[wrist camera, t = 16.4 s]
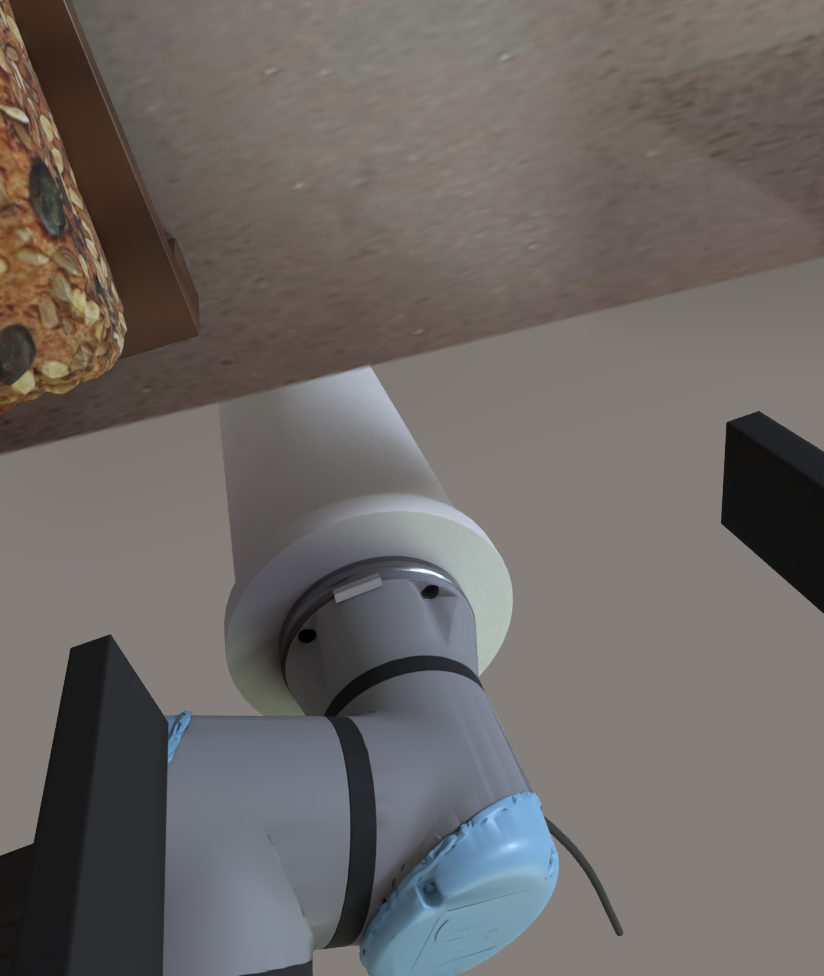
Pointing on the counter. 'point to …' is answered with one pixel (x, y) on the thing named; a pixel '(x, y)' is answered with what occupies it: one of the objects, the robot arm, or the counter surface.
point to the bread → (46, 249)
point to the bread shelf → (109, 180)
